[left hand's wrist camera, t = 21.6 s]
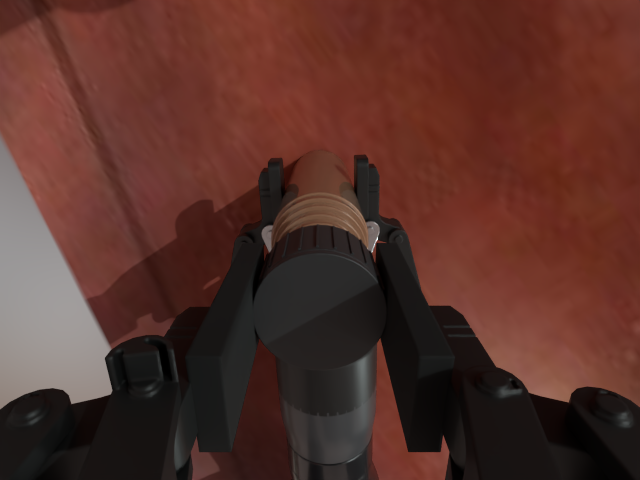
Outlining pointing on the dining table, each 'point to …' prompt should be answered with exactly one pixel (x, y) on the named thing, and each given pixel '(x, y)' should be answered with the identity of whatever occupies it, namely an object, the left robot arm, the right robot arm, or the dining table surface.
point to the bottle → (319, 198)
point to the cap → (319, 299)
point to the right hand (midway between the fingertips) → (317, 159)
